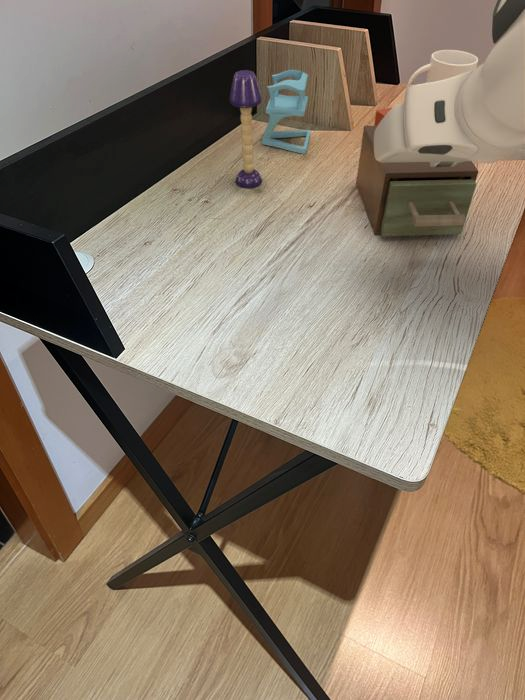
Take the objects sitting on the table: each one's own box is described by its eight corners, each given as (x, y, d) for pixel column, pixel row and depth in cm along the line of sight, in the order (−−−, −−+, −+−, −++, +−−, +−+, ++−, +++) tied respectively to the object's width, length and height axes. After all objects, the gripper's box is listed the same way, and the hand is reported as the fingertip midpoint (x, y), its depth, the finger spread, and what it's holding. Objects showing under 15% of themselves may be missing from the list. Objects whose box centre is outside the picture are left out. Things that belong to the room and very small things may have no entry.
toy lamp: (232, 188, 91) (229, 79, 79) (231, 174, 94) (228, 67, 82) (262, 188, 91) (264, 78, 79) (260, 173, 94) (261, 66, 82)
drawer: (472, 254, 77) (489, 203, 72) (390, 256, 77) (400, 205, 71) (434, 186, 90) (446, 138, 85) (363, 187, 90) (370, 139, 84)
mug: (402, 132, 106) (415, 64, 97) (396, 114, 112) (408, 47, 103) (466, 134, 106) (484, 66, 97) (457, 115, 112) (473, 49, 103)
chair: (265, 131, 106) (267, 62, 97) (310, 135, 105) (315, 66, 96) (259, 150, 100) (259, 79, 92) (306, 154, 99) (311, 82, 91)
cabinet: (460, 232, 83) (478, 170, 76) (374, 235, 82) (385, 173, 75) (432, 182, 93) (446, 124, 86) (355, 184, 92) (363, 125, 85)
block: (372, 137, 104) (376, 110, 101) (394, 133, 106) (399, 105, 102) (387, 149, 101) (392, 121, 98) (410, 144, 103) (416, 116, 99)
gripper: (588, 83, 59) (519, 134, 73) (393, 85, 58) (361, 136, 71) (590, 144, 59) (521, 184, 73) (395, 147, 58) (363, 187, 71)
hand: (441, 160), depth 72 cm, fingers closed
